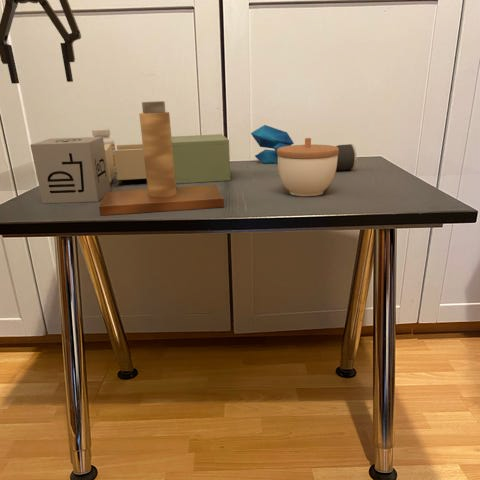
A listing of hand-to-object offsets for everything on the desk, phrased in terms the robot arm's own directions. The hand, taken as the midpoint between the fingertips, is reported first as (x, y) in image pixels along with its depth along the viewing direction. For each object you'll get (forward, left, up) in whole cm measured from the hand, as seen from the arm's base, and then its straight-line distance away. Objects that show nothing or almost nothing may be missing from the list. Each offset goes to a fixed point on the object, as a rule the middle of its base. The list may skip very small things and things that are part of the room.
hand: (43, 82), depth 93 cm
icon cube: (+5, -14, -20) cm, 25 cm away
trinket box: (+47, -23, -20) cm, 56 cm away
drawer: (+14, 0, -19) cm, 23 cm away
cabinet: (+28, 0, -20) cm, 34 cm away
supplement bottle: (+8, +14, -20) cm, 26 cm away
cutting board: (+21, -24, -20) cm, 37 cm away
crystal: (+49, +15, -20) cm, 55 cm away
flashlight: (+56, -2, -20) cm, 59 cm away
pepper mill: (+21, -24, -18) cm, 37 cm away
